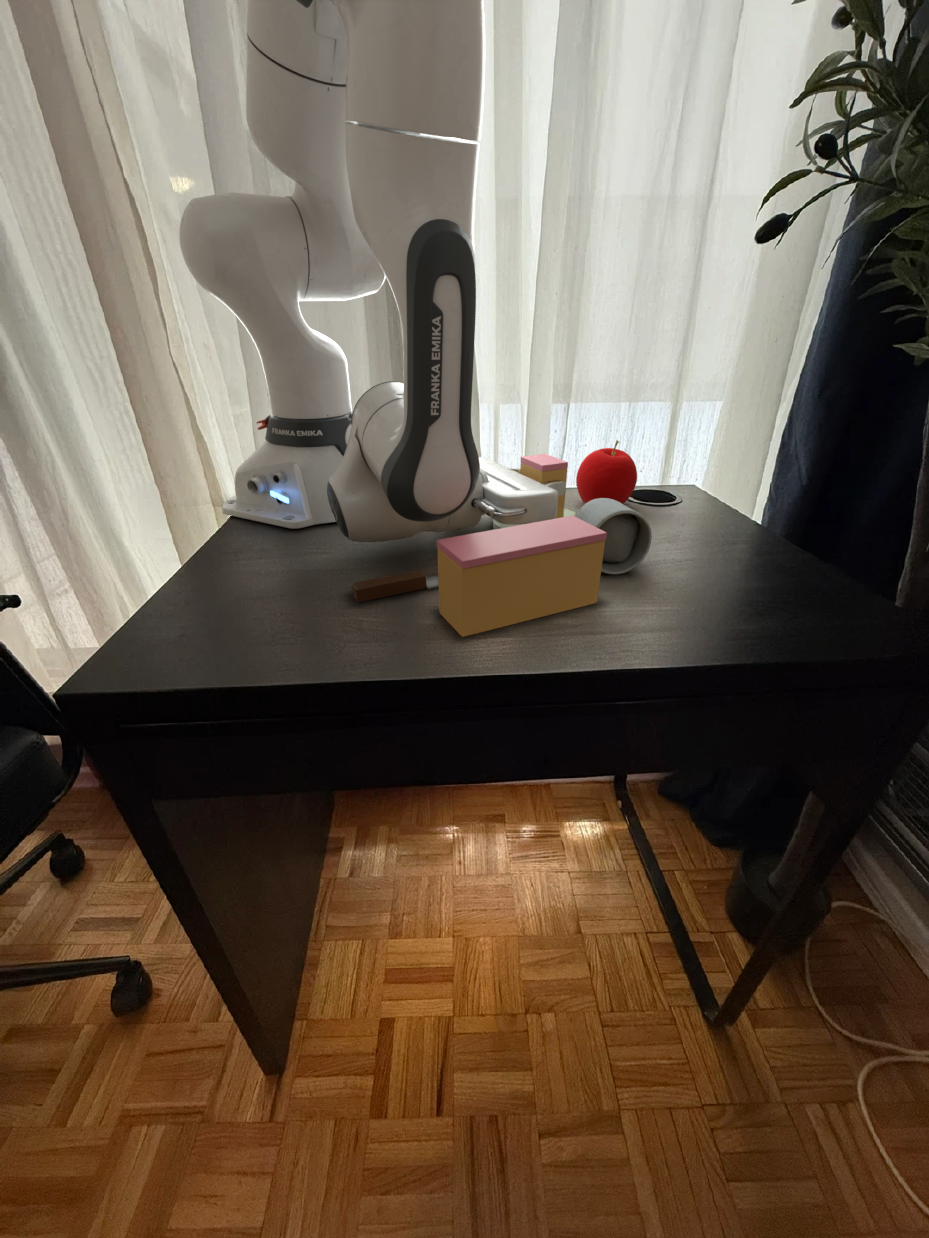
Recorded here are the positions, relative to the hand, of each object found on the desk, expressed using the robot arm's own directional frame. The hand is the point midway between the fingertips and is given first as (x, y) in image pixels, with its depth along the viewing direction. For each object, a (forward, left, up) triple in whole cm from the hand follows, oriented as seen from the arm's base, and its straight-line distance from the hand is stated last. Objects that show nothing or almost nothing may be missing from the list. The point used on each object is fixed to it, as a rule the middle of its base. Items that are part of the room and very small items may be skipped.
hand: (547, 480), depth 78 cm
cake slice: (-1, -1, -5) cm, 5 cm away
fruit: (+7, +11, -7) cm, 15 cm away
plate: (-1, -1, -6) cm, 7 cm away
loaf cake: (+2, -25, -6) cm, 26 cm away
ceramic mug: (+8, -12, -7) cm, 16 cm away
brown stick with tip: (-8, -22, -6) cm, 24 cm away
